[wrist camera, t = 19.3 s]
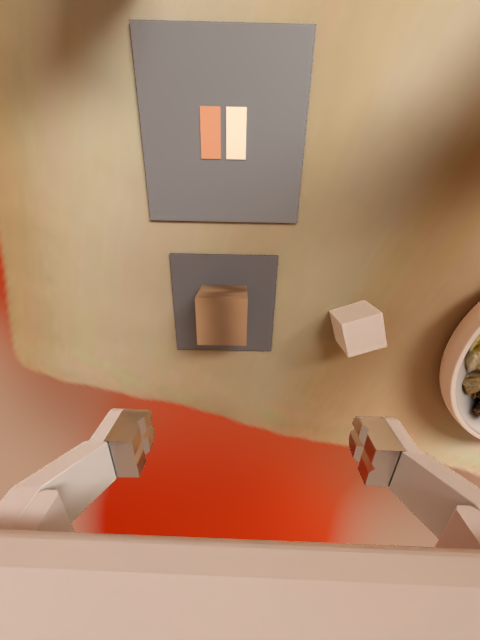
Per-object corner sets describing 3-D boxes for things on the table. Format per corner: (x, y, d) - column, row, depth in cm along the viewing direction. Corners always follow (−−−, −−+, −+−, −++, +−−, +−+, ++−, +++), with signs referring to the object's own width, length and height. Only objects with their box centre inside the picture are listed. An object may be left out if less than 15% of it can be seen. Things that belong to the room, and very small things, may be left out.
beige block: (364, 299, 36) (382, 312, 31) (369, 330, 38) (387, 346, 33) (328, 310, 37) (341, 324, 32) (335, 340, 38) (348, 357, 34)
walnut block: (246, 285, 35) (247, 298, 29) (245, 326, 37) (246, 345, 32) (202, 284, 35) (194, 297, 29) (203, 325, 37) (197, 344, 32)
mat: (277, 255, 34) (278, 255, 33) (270, 350, 39) (271, 351, 39) (170, 253, 34) (169, 253, 33) (178, 348, 39) (177, 349, 39)
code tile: (315, 26, 25) (316, 23, 25) (296, 223, 32) (297, 223, 32) (130, 21, 25) (128, 18, 25) (151, 220, 32) (150, 220, 32)
